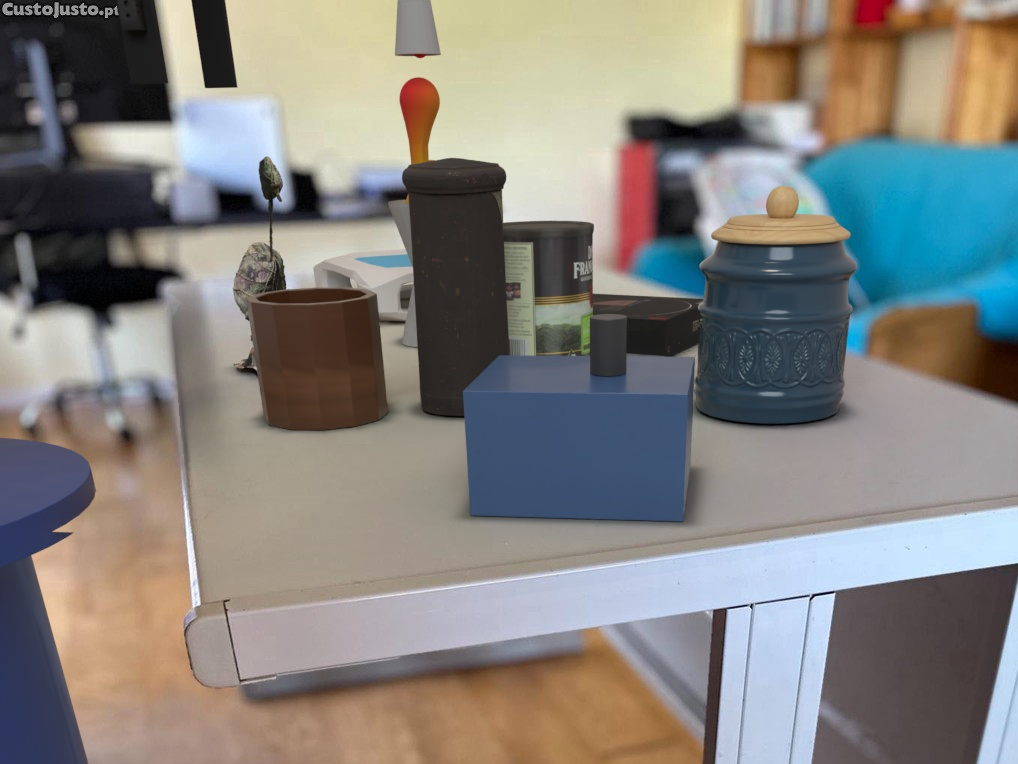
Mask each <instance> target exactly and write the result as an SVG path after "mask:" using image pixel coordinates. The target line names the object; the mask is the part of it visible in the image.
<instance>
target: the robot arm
mask: <svg viewBox="0 0 1018 764" xmlns="http://www.w3.org/2000/svg"><path fill="white" fill-rule="evenodd" d="M190 1H191V7H192V13H193V20H194V21H193V22H194V27H195V33H196V38H197V39H196V40H197V46H198V53H199V59H200V65H201V71H202V78H203V85H204V89H232V88H233V89H234V88H238V81H237V74H236V67H235V60H234V53H233V46H232V40H231V32H230V25H229V18H228V10H227V5H226V4H227V3H226V0H190ZM115 4H116V10H117V15H118V21H119V26H120V31H121V36H122V43H123V47H124V53H125V58H126V64H127V69H128V75H129V80H130V84H131V85H153V84H155V85H157V84H159V85H160V84H161V85H162V84H169V80H168V79H169V78H168V73H167V67H166V62H165V61H166V60H165V56H164V50H163V43H162V38H161V31H160V25H159V20H158V14H157V8H156V2H155V0H115Z"/></svg>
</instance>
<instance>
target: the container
mask: <svg viewBox="0 0 1018 764" xmlns="http://www.w3.org/2000/svg"><path fill="white" fill-rule="evenodd" d="M434 160H435V159H434ZM401 181H402V184H403V186H404V187H405V190H406V191H407V196H409V213H410V226H411V241H412V258H413V277H414V295H415V311H416V327H417V346H418V347H417V359H418V361H417V362H418V376H419V377H418V378H419V392H420V393H419V396H420V407H421V409H422V410H423V411H424V412H426V413H428V414H433V415H436V416H447V417H448V416H449V417H464V402H463V391H464V390H465V389H466V388H467V387H468V386H469V385H470V384H471V383H472V382H473V381H474V380H475V379H476V378H477V377H478V376H479V375H480V374H481V373H482V372H483V371H484V370H485V369H486V368H487V367H488V366H489V365H490V364H491V363H492V362H493V361H494V360H495V359H496V358H497V357H498V356H499V355H510V354H509V334H508V316H507V298H506V275H505V253H504V232H503V223H504V207H503V190H504V187H505V184H506V182H507V172H506V170H505V168H503V167H502V166H500V163H497V162H490V161H488V162H487V161H482V160H476V159H475V160H474V159H468V158H459V157H447V158H441V159H436V160H435V161H429V162H423V163H417V164H411V163H410V164H409V165H408V166H407V167H406V168H404V170H403V171H402V174H401Z"/></svg>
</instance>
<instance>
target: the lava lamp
mask: <svg viewBox="0 0 1018 764" xmlns="http://www.w3.org/2000/svg"><path fill="white" fill-rule="evenodd" d="M395 24H396V25H395V42H394V43H395V45H394V56H395V57H416V58H417V59H423V58H425V57H432V56H441V55H442V53H441V47H440V42H439V37H438V31H437V27H436V21H435V17H434V11H433V5H432V2H431V0H397V3H396V23H395ZM440 99H441V98H440V94H439V91H438V89H437V87H436V86H435V85H434V84H433V83H432V82H431V81H430V80H429V79H428V78H425V77H420V76H419V77H418V76H417V77H416V76H415V77H412V78H410V79H408V80H407V81H406V82H405V83H404V84H403V85H402V87H401V89H400V92H399V106H400V110H401V114H402V117H403V122H404V125H405V130H406V135H407V140H408V146H409V155H410V157H409V158H410V165H411V164H417V163H423V162H429V161H435V159H430V157H429V156H430V155H429V143H430V139H431V134H432V129H433V127H434V124H435V121H436V119H437V115H438V113H439V111H440V104H441V100H440ZM387 204H388V207H389V211H390V213H391V215H392V219H393V220H394V223H395V226H396V228H397V231H398V233H399V236H400V239H401V242H402V244H403V247H404V249H406V251H407V254H408V257H409V259H410V262H411V264H412V267H413V258H412V241H411V226H410V213H409V196H408V195H407V196H406V199H396V200H391V201H388V202H387ZM412 284H413V287H412V292H411V297H410V298H409V303H408V307H407V308H408V313H407V318H406V322H404V327H403V328H404V329H403V334H402V338H401V344H402V345H404V346H406V347H407V346H408V347H414V348H418V346H417V327H416V311H415V295H414V282H412Z"/></svg>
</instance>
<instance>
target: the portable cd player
mask: <svg viewBox="0 0 1018 764" xmlns="http://www.w3.org/2000/svg"><path fill="white" fill-rule="evenodd" d="M702 302H703V298H694V297H693V298H692V297H673V296H672V297H671V296H654V295H651V296H650V295H630V294H611V293H593V316H594V315H600V314H619V315H625V316H627V356H645V357H674V356H676V355H677V354H679V353H681V352H684V351H685V350H688V349H690V348H692V347H694V346H695V345H698V342H699V319H700V314H699V312H698V306H699V304H700V303H702Z"/></svg>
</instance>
